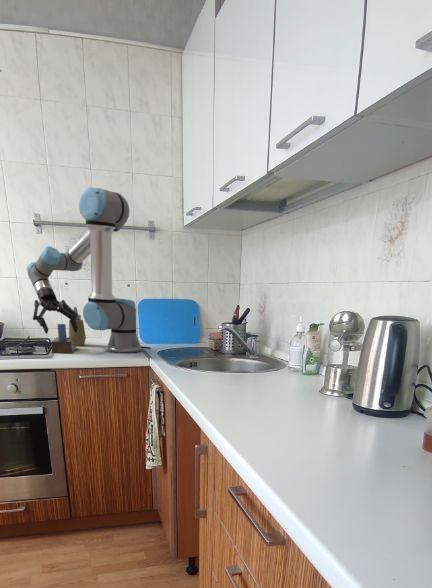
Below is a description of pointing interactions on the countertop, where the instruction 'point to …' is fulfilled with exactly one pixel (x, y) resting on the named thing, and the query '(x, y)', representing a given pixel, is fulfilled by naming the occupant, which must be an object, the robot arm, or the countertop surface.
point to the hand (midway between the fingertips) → (62, 330)
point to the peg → (62, 332)
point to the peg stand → (64, 345)
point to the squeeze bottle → (78, 330)
